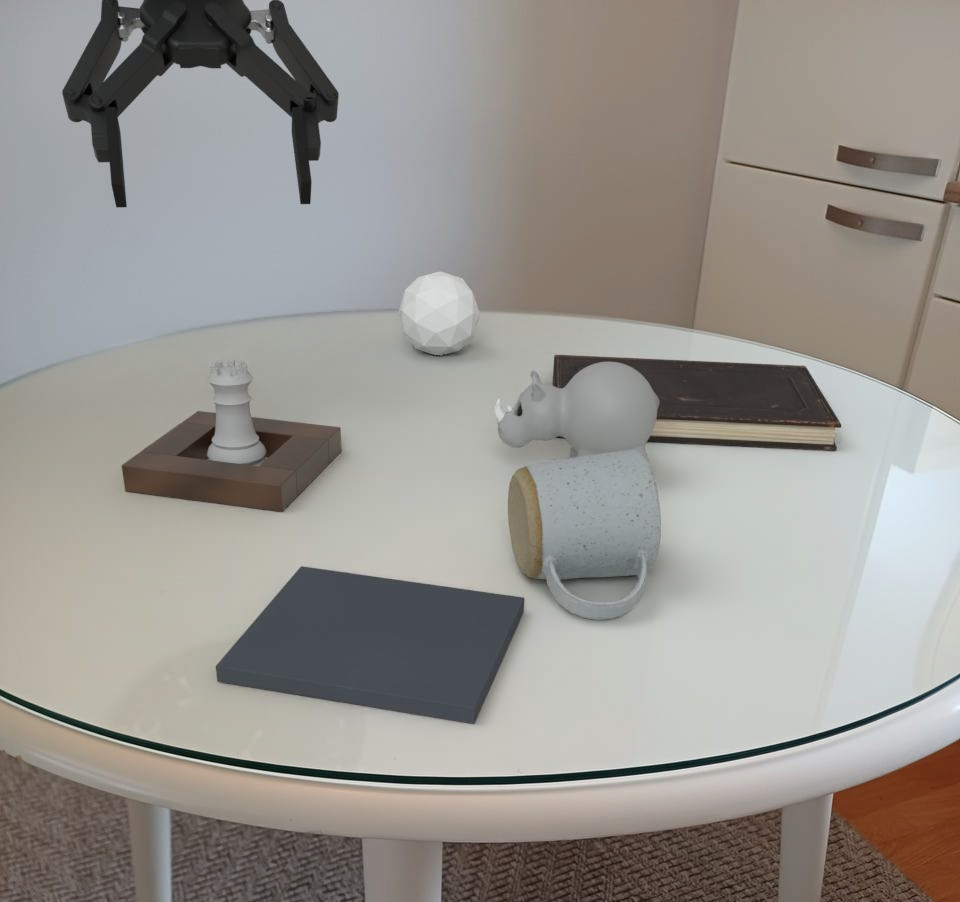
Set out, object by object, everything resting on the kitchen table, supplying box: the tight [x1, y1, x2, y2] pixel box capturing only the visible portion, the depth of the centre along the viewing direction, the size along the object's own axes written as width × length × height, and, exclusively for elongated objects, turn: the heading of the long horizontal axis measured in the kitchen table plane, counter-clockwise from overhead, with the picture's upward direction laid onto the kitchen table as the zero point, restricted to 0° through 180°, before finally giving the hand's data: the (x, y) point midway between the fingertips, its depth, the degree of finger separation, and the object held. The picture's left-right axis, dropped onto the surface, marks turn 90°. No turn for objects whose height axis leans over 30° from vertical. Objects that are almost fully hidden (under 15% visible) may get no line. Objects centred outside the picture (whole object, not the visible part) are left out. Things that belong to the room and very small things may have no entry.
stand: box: [121, 410, 343, 513], centre depth 83 cm, size 12×12×2 cm
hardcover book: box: [552, 354, 842, 451], centre depth 97 cm, size 16×23×2 cm
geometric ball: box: [398, 270, 481, 356], centre depth 109 cm, size 8×8×8 cm
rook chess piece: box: [206, 359, 267, 466], centre depth 82 cm, size 4×4×8 cm
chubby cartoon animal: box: [493, 362, 659, 466], centre depth 83 cm, size 7×12×8 cm, turn 89°
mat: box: [215, 565, 525, 724], centre depth 63 cm, size 14×12×1 cm
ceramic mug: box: [507, 449, 662, 621], centre depth 68 cm, size 11×8×8 cm
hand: (214, 195), depth 84 cm, fingers open, 13 cm apart
